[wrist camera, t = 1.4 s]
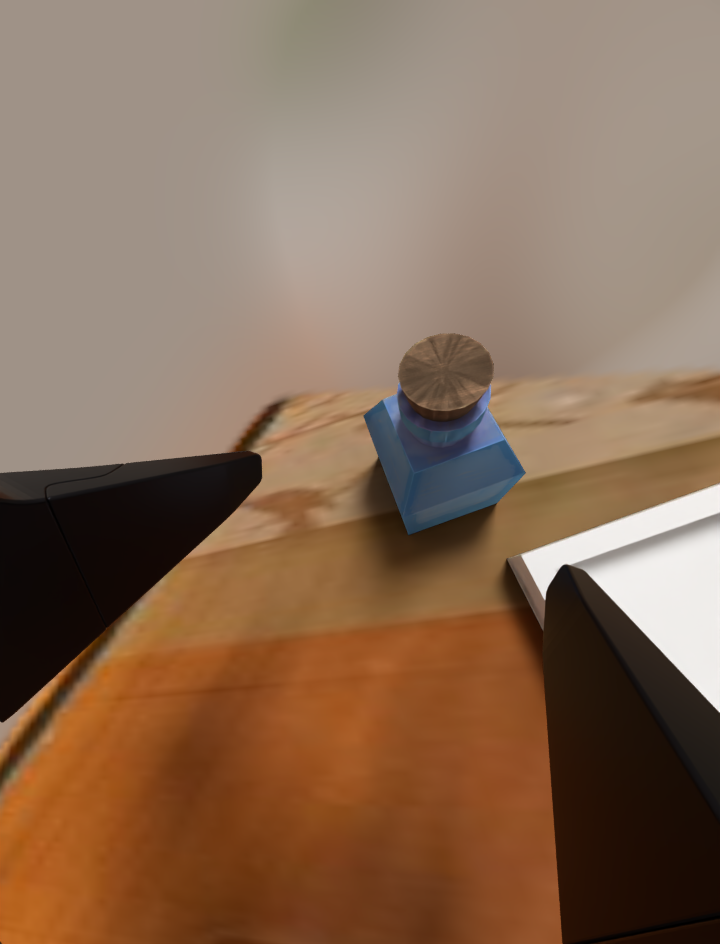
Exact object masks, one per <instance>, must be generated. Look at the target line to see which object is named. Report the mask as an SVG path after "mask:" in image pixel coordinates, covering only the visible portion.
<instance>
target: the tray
mask: <svg viewBox="0 0 720 944" xmlns="http://www.w3.org/2000/svg"><path fill="white" fill-rule="evenodd" d="M507 561H508V562H509V564H510V566H511V568H512V570H513V572H514V574H515V576H516V578H517V580H518V582H519V584H520V586H521V588H522V590H523V592H524V594H525V596H526V598H527V600H528V602H529V604H530V606H531V608H532V610H533V612H534V614H535V616H536V618H537V620H538V622H539V624H540V626H541V628H542V630H543V631H544V614H545V598H546V591H547V588H548V586H549V584H550V583H551V581H552V580H553V578H554V577H555V575H556V573H557V572H558V570H559V569H560V567H561V566H562V565H564V564H569V565H571V566H574V567H577V568H580V569H583V570H584V571H586V572H587V573H588V575H589V576H590V577H591V578H592V579H593V580H594V581H595V582H596V583H597V584H598V585H599V586H600V587H601V588H602V589H603V590H604V591H605V592H606V593H607V594H608V596H609V597H610V598H611V599H612V600H613V601H614V602H615V603H616V604H617V605H618V606H619V607H620V608H621V609H622V610H623V611H624V612H625V613H626V614H627V616H628V617H629V618H630V619H631V620H632V621H633V622H634V623H635V624H636V625H637V626H638V627H639V628H640V629H641V630H642V631H643V632H644V633H645V634H646V636H647V637H648V638H649V639H650V640H651V641H652V642H653V643H654V644H655V645H656V646H657V647H658V648H659V649H660V650H661V651H662V652H663V653H664V654H665V656H666V657H667V658H668V659H669V660H670V661H671V662H672V663H673V664H674V665H675V666H676V667H677V668H678V669H679V670H680V671H681V672H682V673H683V674H684V676H685V677H686V678H687V679H688V680H689V681H690V682H691V683H692V684H693V685H694V686H695V687H696V688H697V689H698V690H699V691H700V692H701V693H702V694H703V696H704V697H705V698H706V699H707V700H708V701H709V702H710V703H711V704H712V705H713V706H714V707H715V708H716V709H717V710H718V711H719V712H720V483H718V484H715V485H712V486H709V487H707V488H704V489H701V490H698V491H695V492H693V493H690V494H687V495H684V496H681V497H679V498H676V499H673V500H670V501H667V502H665V503H662V504H659V505H656V506H653V507H650V508H648V509H645V510H642V511H639V512H636V513H634V514H631V515H628V516H625V517H622V518H620V519H617V520H614V521H611V522H608V523H606V524H603V525H600V526H597V527H594V528H592V529H589V530H586V531H583V532H580V533H577V534H575V535H572V536H569V537H566V538H563V539H561V540H558V541H555V542H552V543H549V544H547V545H544V546H541V547H538V548H535V549H533V550H530V551H527V552H524V553H521V554H519V555H516V556H513V557H510V558H507Z"/></svg>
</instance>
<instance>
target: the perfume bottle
mask: <svg viewBox="0 0 720 944" xmlns="http://www.w3.org/2000/svg"><path fill="white" fill-rule="evenodd" d="M493 371H494V364H493V361H492V359H491V356H490V354H489V352H488V351H487V350H486V349H485V348H484V347H483V346H482V345H481V343H479V342H477V341H475V340H473V339H472V338H470V337H467V336H463V335H459V334H438V335H434V336H430V337H427V338H425V339H423V340H421V341H420V342H418V343H416V344H415V345H414V346H412V347H411V348H410V349H409V351H407V352H406V353H405V355H404V357H403V359H402V361H401V363H400V366H399V373H398V377H399V384H398V391H397V394H395V395H393V396H390V397H388V398H385V399H383V400H382V401H380V402H379V403H378V404H377V405H376V406H374V407H373V408H372V409H371V410H370V411H368V412H367V413H366V414H365V415H364V418H365V421H366V424H367V427H368V429H369V432H370V435H371V438H372V440H373V443H374V446H375V448H376V451H377V454H378V457H379V459H380V462H381V464H382V467H383V470H384V472H385V475H386V477H387V480H388V483H389V485H390V488H391V491H392V493H393V496H394V498H395V501H396V504H397V506H398V509H399V512H400V514H401V517H402V519H403V522H404V525H405V527H406V530H407V533H408V535H410V534H413V533H416V532H418V531H421V530H424V529H427V528H429V527H432V526H435V525H438V524H441V523H443V522H446V521H449V520H452V519H455V518H457V517H460V516H463V515H466V514H468V513H471V512H474V511H477V510H480V509H482V508H485V507H488V506H491V505H494V504H496V503H498V502H499V500H500V499H501V498H502V497H503V496H504V495H505V494H506V493H507V492H508V491H509V490H510V489H511V488H512V487H513V486H514V485H515V484H516V483H517V482H518V481H519V480H520V478H521V477H522V476H523V475H524V474H525V473H526V472H525V471H524V469H523V467H522V466H521V464H520V462H519V460H518V459H517V457H516V455H515V454H514V452H513V450H512V448H511V447H510V445H509V443H508V442H507V440H506V438H505V436H504V435H503V433H502V431H501V429H500V428H499V426H498V424H497V423H496V421H495V419H494V417H493V416H492V414H491V412H490V411H489V409H488V407H487V406H488V403H489V401H490V394H491V385H490V384H491V381H492V379H493Z"/></svg>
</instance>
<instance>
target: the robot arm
mask: <svg viewBox="0 0 720 944" xmlns="http://www.w3.org/2000/svg"><path fill="white" fill-rule="evenodd" d="M261 479H262V459H261V456H260V455H259V454H257V453H254V452H251V451H242V452H232V453H222V454H212V455H203V456H193V457H183V458H174V459H163V460H154V461H144V462H134V463H126V464H115V465H104V466H94V467H83V468H82V467H81V468H68V469H55V470H40V471H24V472H9V473H0V722H4V721H6V720H7V719H8V718H10V717H11V716H12V715H13V714H14V713H15V712H17V711H18V710H19V709H20V708H21V707H22V706H23V705H24V704H25V703H27V702H28V701H29V700H30V699H31V698H32V697H33V696H34V695H35V694H36V693H37V692H39V691H40V690H41V689H42V688H43V687H44V686H45V685H46V684H47V683H48V682H50V681H51V680H52V679H53V678H54V677H55V676H56V675H57V674H58V673H59V672H60V671H62V670H63V669H64V668H65V667H66V666H67V665H68V664H69V663H70V662H71V661H72V660H74V659H75V658H76V657H77V656H78V655H79V654H80V653H81V652H82V651H83V650H84V649H86V648H87V647H88V646H89V645H90V644H91V643H92V642H93V641H94V640H95V639H96V638H98V637H99V636H100V635H101V634H102V633H103V632H104V631H105V630H106V628H108V627H109V626H110V625H111V624H112V623H114V622H115V621H116V620H117V619H118V618H119V617H120V616H121V615H122V614H123V613H125V612H126V611H127V610H128V609H129V608H130V607H131V606H132V605H133V604H134V603H135V602H137V601H138V600H139V599H140V598H141V597H142V596H143V595H144V594H145V593H146V592H147V591H149V590H150V589H151V588H152V587H153V586H154V585H155V584H156V583H157V582H158V581H160V580H161V579H162V578H163V577H164V576H165V575H166V574H167V573H168V572H169V571H170V570H172V569H173V568H174V567H175V566H176V565H177V564H178V563H179V562H180V561H181V560H182V559H184V558H185V557H186V556H187V555H188V554H189V553H190V552H191V551H192V550H193V549H194V548H196V547H197V546H198V545H199V544H200V543H201V542H202V541H203V540H204V539H205V538H207V537H208V536H209V535H210V534H211V533H212V532H213V531H214V530H215V529H216V528H217V527H219V526H220V525H221V524H222V523H223V522H224V521H225V520H226V519H227V518H228V517H229V516H230V515H231V514H232V513H233V512H234V511H235V510H236V509H237V508H238V507H239V506H240V505H241V503H242V502H243V501H244V500H245V499H246V498H247V497H248V496H249V495H250V493H251V492H252V491H253V490H254V489H255V488H256V487H257V486H258V484H259V483H260V482H261ZM542 654H543V672H544V687H545V701H546V715H547V730H548V744H549V758H550V773H551V787H552V801H553V815H554V830H555V844H556V858H557V873H558V887H559V901H560V916H561V930H562V943H563V944H720V712H719V711H718V710H717V709H716V708H715V707H714V706H713V705H712V704H711V703H710V702H709V701H708V700H707V699H706V698H705V697H704V696H703V694H702V693H701V692H700V691H699V690H698V689H697V688H696V687H695V686H694V685H693V684H692V683H691V682H690V681H689V680H688V679H687V678H686V677H685V676H684V674H683V673H682V672H681V671H680V670H679V669H678V668H677V667H676V666H675V665H674V664H673V663H672V662H671V661H670V660H669V659H668V658H667V657H666V656H665V654H664V653H663V652H662V651H661V650H660V649H659V648H658V647H657V646H656V645H655V644H654V643H653V642H652V641H651V640H650V639H649V638H648V637H647V636H646V634H645V633H644V632H643V631H642V630H641V629H640V628H639V627H638V626H637V625H636V624H635V623H634V622H633V621H632V620H631V619H630V618H629V617H628V616H627V614H626V613H625V612H624V611H623V610H622V609H621V608H620V607H619V606H618V605H617V604H616V603H615V602H614V601H613V600H612V599H611V598H610V597H609V596H608V594H607V593H606V592H605V591H604V590H603V589H602V588H601V587H600V586H599V585H598V584H597V583H596V582H595V581H594V580H593V579H592V578H591V577H590V576H589V575H588V573H587V572H586V571H584V570H583V569H580V568H577V567H574V566H571V565H569V564H564V565H562V566H561V567H560V569H559V570H558V572H557V573H556V575H555V577H554V578H553V580H552V581H551V583H550V584H549V586H548V588H547V591H546V598H545V614H544V631H543V652H542ZM0 944H1V942H0Z"/></svg>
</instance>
